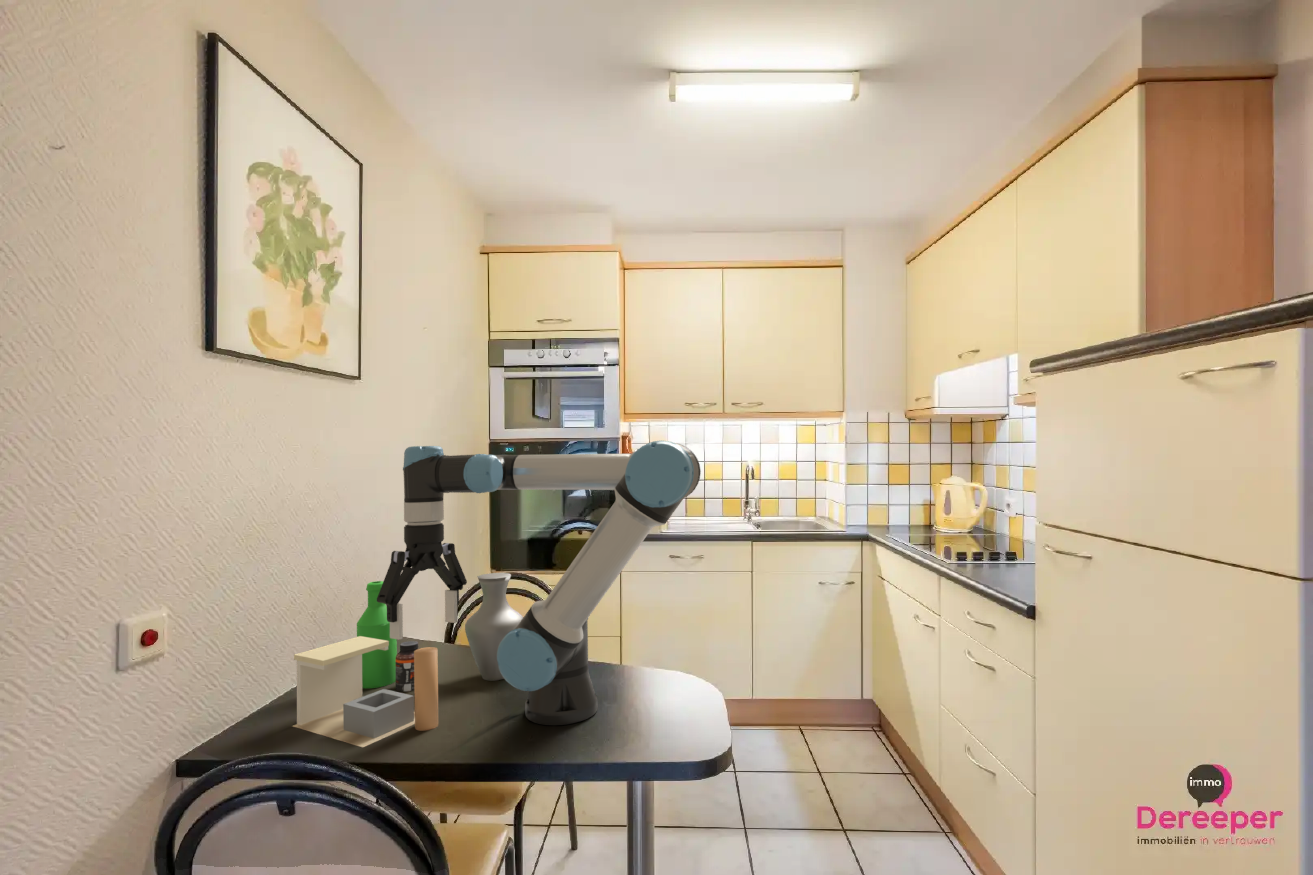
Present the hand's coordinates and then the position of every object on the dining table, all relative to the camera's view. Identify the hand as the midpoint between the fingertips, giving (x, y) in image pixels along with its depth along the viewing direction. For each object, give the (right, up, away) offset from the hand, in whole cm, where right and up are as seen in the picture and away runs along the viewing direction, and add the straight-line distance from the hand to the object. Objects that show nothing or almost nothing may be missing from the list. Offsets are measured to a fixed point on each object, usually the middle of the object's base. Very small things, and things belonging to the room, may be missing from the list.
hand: (425, 629), depth 127 cm
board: (-13, -21, +3) cm, 25 cm away
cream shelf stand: (-19, -20, +5) cm, 28 cm away
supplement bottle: (-12, -21, +22) cm, 33 cm away
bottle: (-21, -22, +26) cm, 40 cm away
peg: (+1, -20, -1) cm, 20 cm away
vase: (+6, -21, +32) cm, 39 cm away
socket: (-9, -19, 0) cm, 21 cm away
